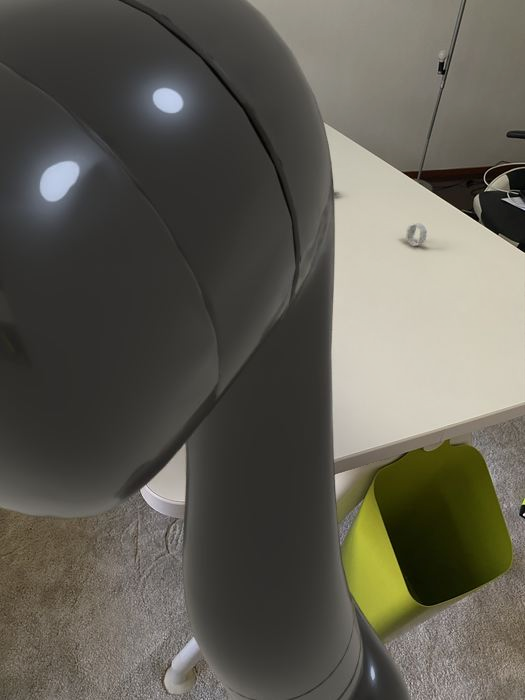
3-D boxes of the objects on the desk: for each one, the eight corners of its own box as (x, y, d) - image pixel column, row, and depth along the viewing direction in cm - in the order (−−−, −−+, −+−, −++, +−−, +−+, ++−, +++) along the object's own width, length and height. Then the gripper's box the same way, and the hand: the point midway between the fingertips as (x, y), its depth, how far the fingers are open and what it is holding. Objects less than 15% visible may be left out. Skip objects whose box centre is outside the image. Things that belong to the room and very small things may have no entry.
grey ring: (424, 247, 100) (430, 227, 98) (416, 250, 99) (422, 229, 97) (411, 239, 103) (416, 219, 100) (402, 241, 102) (408, 221, 99)
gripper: (353, 442, 43) (302, 314, 56) (184, 455, 41) (172, 318, 54) (337, 499, 48) (294, 369, 61) (184, 514, 46) (173, 375, 59)
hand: (237, 345), depth 58 cm, fingers closed
